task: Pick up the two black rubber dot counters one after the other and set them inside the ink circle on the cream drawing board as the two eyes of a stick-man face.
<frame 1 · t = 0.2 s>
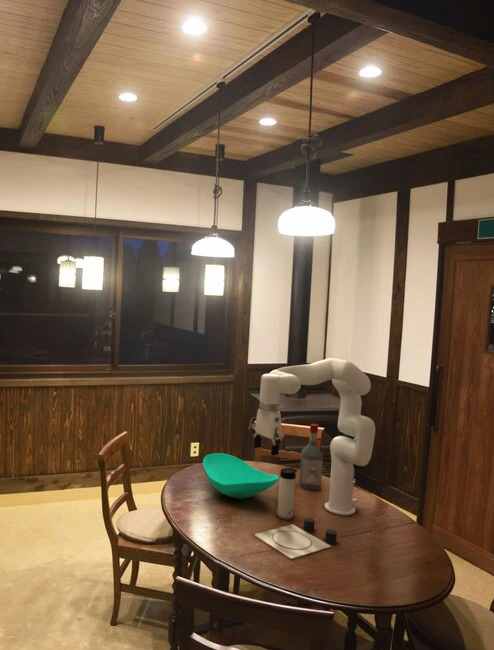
hand: (265, 451, 204), 31 cm above the table, tool pointing down, fingers open, 9 cm apart
travel mug: (285, 517, 220), on the table
drawing board: (291, 541, 199), on the table
liquor: (309, 487, 256), on the table
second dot: (330, 541, 200), on the table
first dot: (308, 529, 209), on the table
table top decor: (237, 495, 240), on the table
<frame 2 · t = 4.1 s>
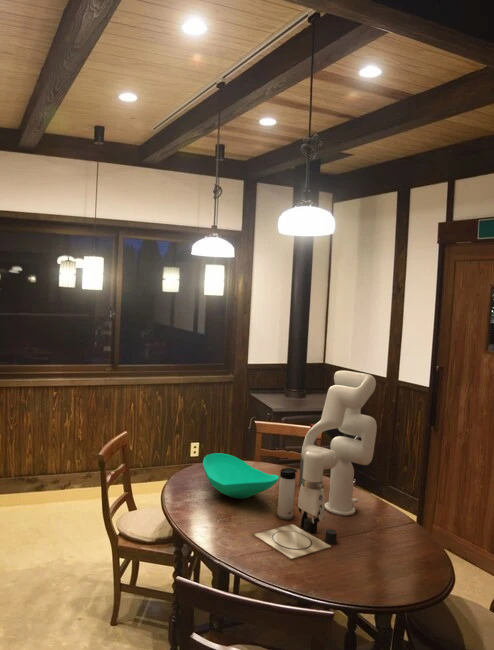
hand: (308, 529, 209), 0 cm above the table, tool pointing down, fingers closed on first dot, 4 cm apart
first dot: (308, 529, 209), on the table, touching gripper
everything else where it was.
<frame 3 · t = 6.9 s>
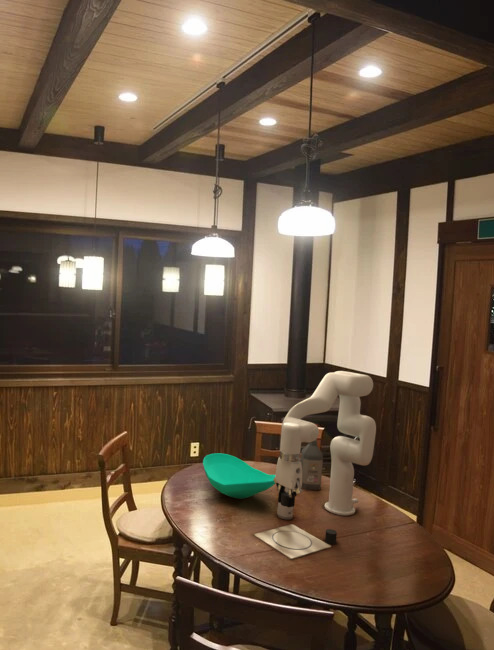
hand: (286, 503, 201), 13 cm above the table, tool pointing down, fingers closed on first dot, 4 cm apart
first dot: (285, 504, 201), point 12 cm above the table, touching gripper
everything else where it was.
when the fingers open (1 cm above the table, at t = 10.0 s): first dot stays where it is, resting on drawing board.
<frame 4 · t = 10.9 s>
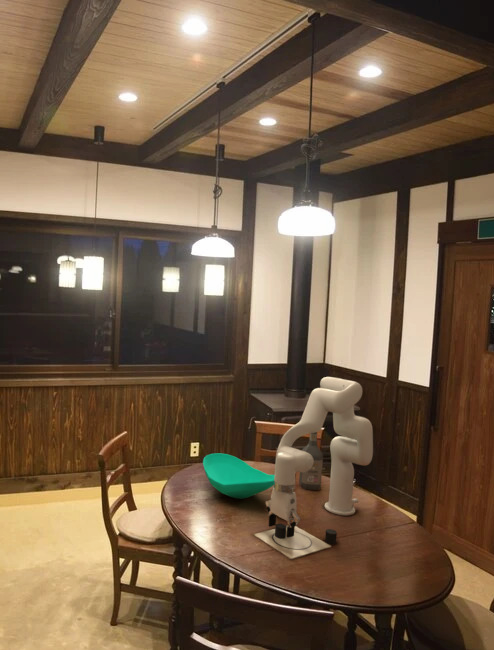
hand: (280, 531, 201), 2 cm above the table, tool pointing down, fingers open, 9 cm apart
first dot: (280, 536, 201), point 1 cm above the table, touching drawing board
everything else where it was.
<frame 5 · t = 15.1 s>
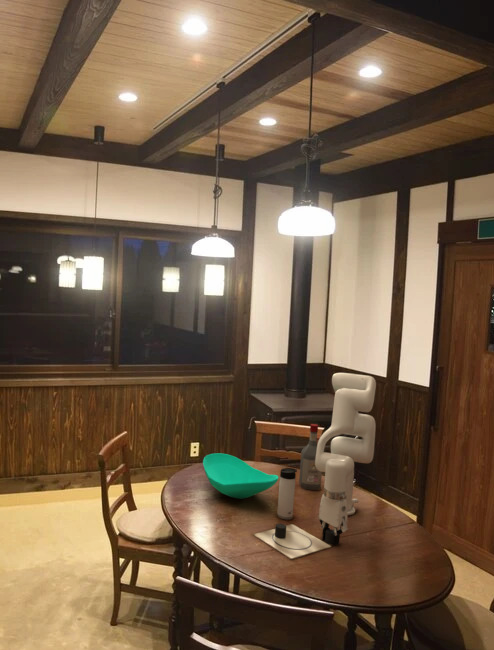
hand: (330, 541, 200), 0 cm above the table, tool pointing down, fingers closed on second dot, 4 cm apart
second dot: (330, 541, 200), on the table, touching gripper
everything else where it was.
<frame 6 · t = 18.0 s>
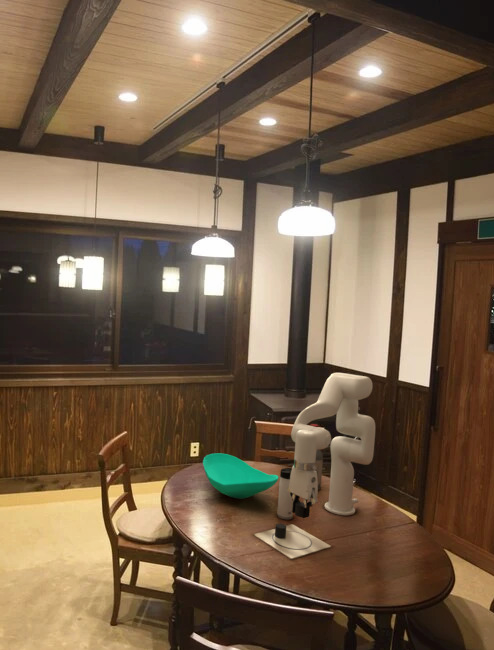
hand: (300, 514, 194), 12 cm above the table, tool pointing down, fingers closed on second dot, 4 cm apart
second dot: (300, 515, 194), point 12 cm above the table, touching gripper
everything else where it was.
when the fingers open (1 cm above the table, at t = 21.0 s): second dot stays where it is, resting on drawing board.
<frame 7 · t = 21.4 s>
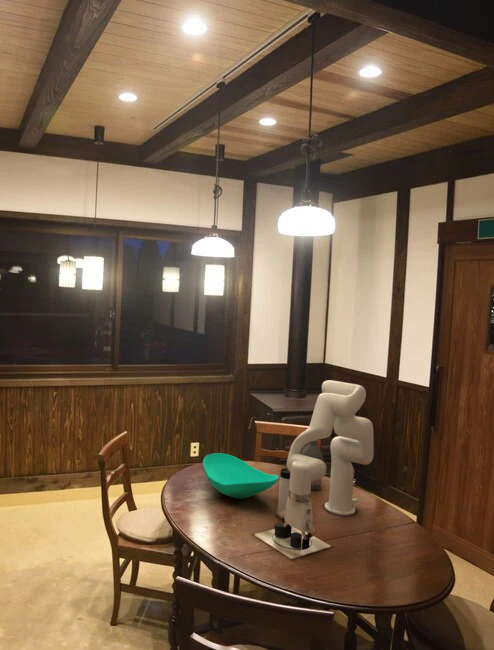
hand: (296, 542, 194), 2 cm above the table, tool pointing down, fingers open, 8 cm apart
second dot: (295, 545, 194), point 1 cm above the table, touching drawing board
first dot: (280, 535, 201), point 1 cm above the table, tilted 7°, touching drawing board, gripper
everything else where it was.
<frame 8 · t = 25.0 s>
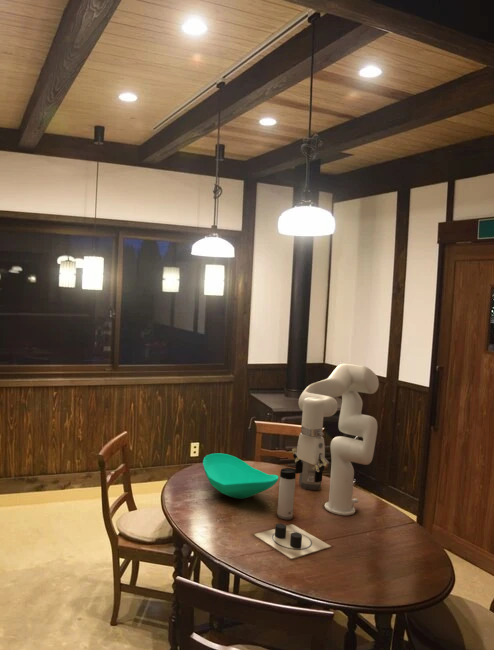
hand: (308, 477, 198), 24 cm above the table, tool pointing down, fingers open, 9 cm apart
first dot: (280, 536, 201), point 1 cm above the table, touching drawing board
everything else where it was.
at the end: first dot 0.1 cm from the target spot, point 0.5 cm above the table; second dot 0.1 cm from the target spot, point 0.5 cm above the table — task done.
